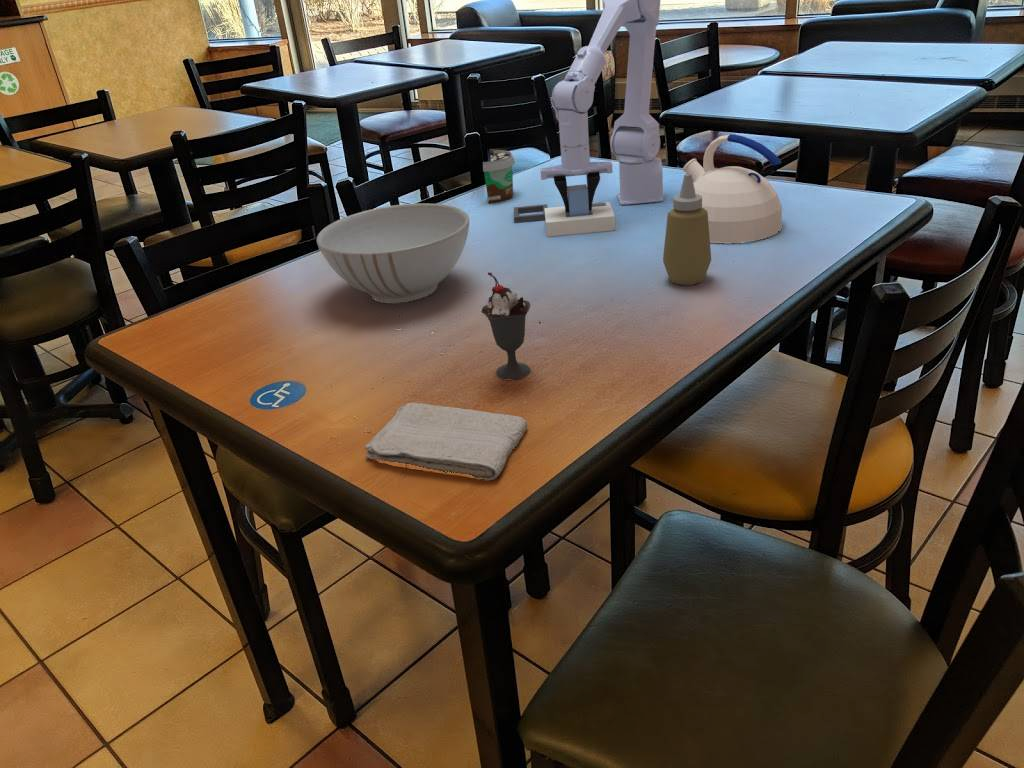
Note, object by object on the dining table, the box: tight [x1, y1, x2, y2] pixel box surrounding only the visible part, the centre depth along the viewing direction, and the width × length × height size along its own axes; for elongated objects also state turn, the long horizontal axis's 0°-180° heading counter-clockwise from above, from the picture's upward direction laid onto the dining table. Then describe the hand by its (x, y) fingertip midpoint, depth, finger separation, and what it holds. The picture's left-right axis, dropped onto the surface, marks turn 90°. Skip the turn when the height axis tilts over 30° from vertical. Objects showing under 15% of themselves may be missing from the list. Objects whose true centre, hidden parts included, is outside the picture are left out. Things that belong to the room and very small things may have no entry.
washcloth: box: [365, 402, 528, 481], centre depth 96 cm, size 12×18×3 cm, turn 70°
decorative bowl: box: [316, 202, 470, 304], centre depth 140 cm, size 27×27×12 cm
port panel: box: [544, 201, 616, 237], centre depth 164 cm, size 14×10×3 cm
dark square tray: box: [513, 203, 549, 224], centre depth 174 cm, size 8×8×1 cm
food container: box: [482, 149, 515, 204], centre depth 187 cm, size 12×6×10 cm, turn 168°
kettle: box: [682, 133, 783, 244], centre depth 151 cm, size 20×21×18 cm
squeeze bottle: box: [662, 173, 712, 286], centre depth 130 cm, size 8×8×18 cm
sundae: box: [481, 272, 532, 380], centre depth 108 cm, size 7×7×15 cm
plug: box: [567, 183, 589, 217], centre depth 163 cm, size 4×4×7 cm
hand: (578, 210), depth 163 cm, fingers closed on plug, 4 cm apart
